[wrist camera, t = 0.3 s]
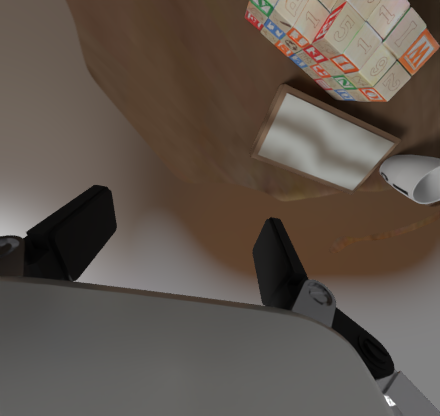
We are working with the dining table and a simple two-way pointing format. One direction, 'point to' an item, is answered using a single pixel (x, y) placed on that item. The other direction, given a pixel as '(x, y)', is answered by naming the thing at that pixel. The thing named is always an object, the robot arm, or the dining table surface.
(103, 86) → the dining table surface
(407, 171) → the cup
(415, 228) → the dining table surface
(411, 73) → the stack of blocks
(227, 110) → the dining table surface
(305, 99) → the picture frame
